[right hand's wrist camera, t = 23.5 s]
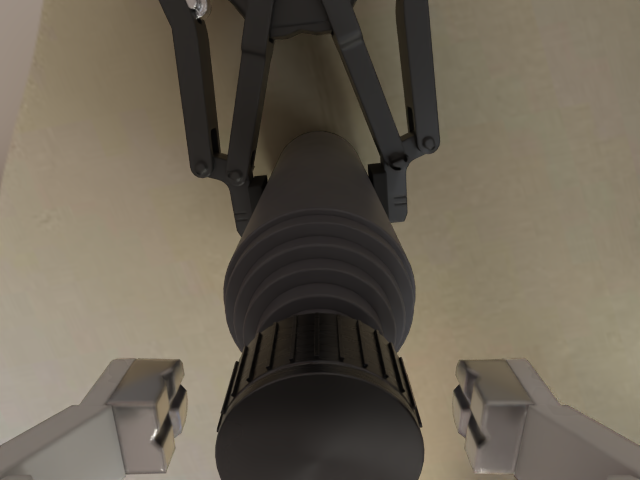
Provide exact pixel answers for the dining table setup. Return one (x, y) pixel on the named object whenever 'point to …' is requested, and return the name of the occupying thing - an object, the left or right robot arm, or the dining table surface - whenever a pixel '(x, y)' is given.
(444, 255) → the dining table surface
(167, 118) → the dining table surface
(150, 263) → the dining table surface
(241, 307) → the bottle
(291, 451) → the cap
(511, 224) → the dining table surface
